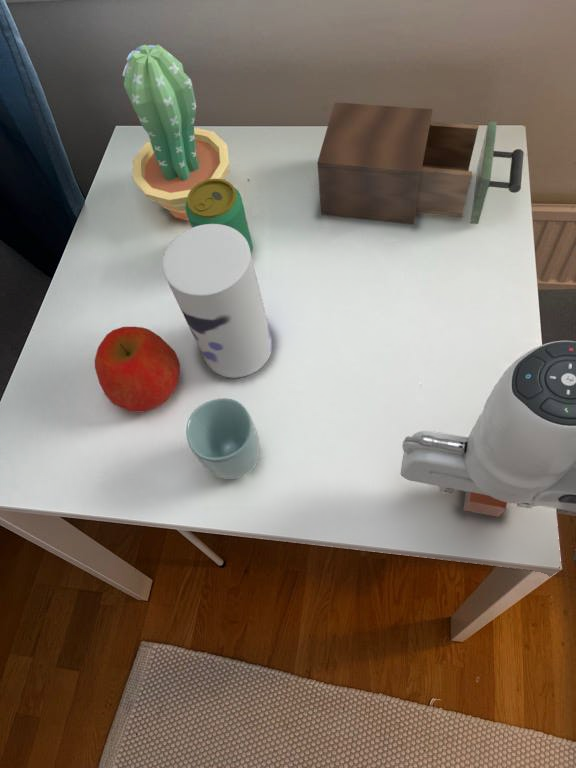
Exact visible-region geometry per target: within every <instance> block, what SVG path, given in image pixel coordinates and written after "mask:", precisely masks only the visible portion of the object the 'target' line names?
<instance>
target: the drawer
mask: <svg viewBox="0 0 576 768" xmlns="http://www.w3.org/2000/svg"><path fill="white" fill-rule="evenodd" d="M497 125H498V122H497V121H490V120H489V121H488V122H487V126H486V129H485V134H484V138H483V141H482V145H481V146H482V147H481V150H480V155H479V159H478V162H477V166H476V173H475V179H474V180H475V182H474V187H473V188H474V189H473V195H472V196H473V197H472V205H471V213H470V220H469V224H473V225H479V223H480V219H481V215H482V211H483V208H484V204H485V201H486V197H487V193H488V190H489V188H498V189H499V188H500V189H508V191H509V192H510V193H514V194H515V193H518V192H520V191H521V189H522V177H523V167H524V166H523V165H524V163H523V162H524V154H525V153H524V150H522V149H520V148H517V149H514V150H513V151H512V152H511V151H501V150H499V151H498V150H495V142H496V135H497V134H496V133H497ZM478 130H479V124H469V123H458V122H457V123H456V122H444V121H443V122H441V121H431V122H430V127H429V133H428V138H427V144H426V149H425V155H424V160H423V166H422V171H421V179H420V186H419V193H418V201H417V208H416V214H426V215H435V216H436V215H437V216H443V217H444V216H445V217H455V218H462V217H463V214H464V210H465V206H466V201H467V198H468V193H469V189H470V185H471V180H472V176H473V171H472V170H470V166H471V161H472V156H473V152H474V148H475V143H476V140H477V136H478V135H477V134H478ZM494 158H505V159H510V168H509V169H510V171H509V181H508V182H505V181H497V180H495V181H494V180H491V178H492V169H493V161H494Z"/></svg>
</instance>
